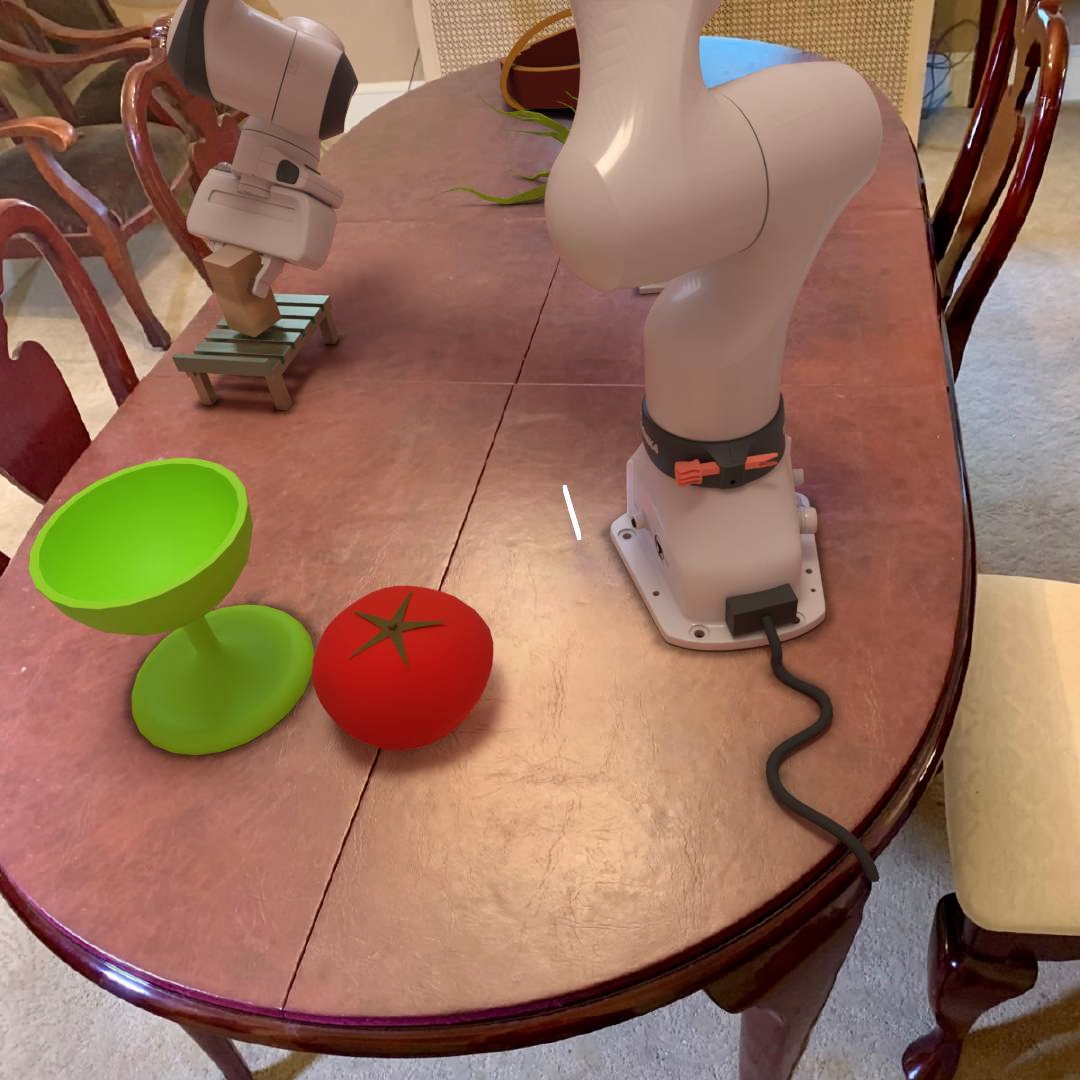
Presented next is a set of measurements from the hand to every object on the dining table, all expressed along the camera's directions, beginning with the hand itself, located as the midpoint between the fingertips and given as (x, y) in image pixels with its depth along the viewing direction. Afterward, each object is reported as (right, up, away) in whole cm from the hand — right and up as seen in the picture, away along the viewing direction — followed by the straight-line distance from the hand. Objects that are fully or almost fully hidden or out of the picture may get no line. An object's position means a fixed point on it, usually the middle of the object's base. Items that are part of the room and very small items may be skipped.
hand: (238, 290), depth 108 cm
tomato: (+25, -42, -31) cm, 58 cm away
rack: (+2, -8, +8) cm, 11 cm away
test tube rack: (+50, +11, +20) cm, 56 cm away
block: (+1, -3, +4) cm, 5 cm away
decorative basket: (+45, +53, +63) cm, 94 cm away
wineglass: (+7, -41, -26) cm, 49 cm away
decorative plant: (+36, +23, +35) cm, 55 cm away
